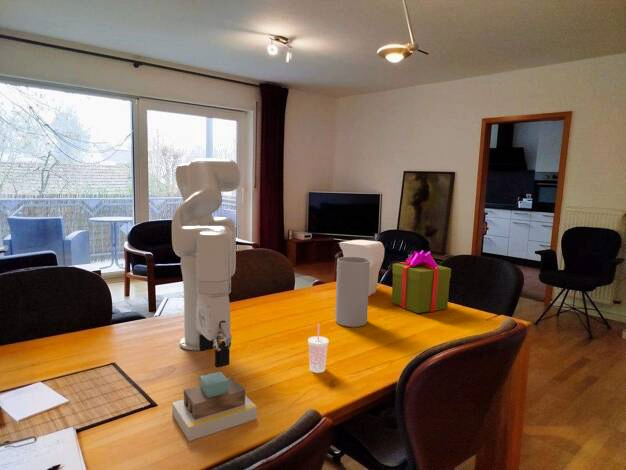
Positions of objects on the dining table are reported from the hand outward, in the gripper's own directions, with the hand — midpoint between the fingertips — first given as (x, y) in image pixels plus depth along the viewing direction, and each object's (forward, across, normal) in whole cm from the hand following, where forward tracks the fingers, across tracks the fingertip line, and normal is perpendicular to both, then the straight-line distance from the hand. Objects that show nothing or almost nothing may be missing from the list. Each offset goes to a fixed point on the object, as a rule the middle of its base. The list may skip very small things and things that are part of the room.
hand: (213, 357), depth 98 cm
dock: (+14, +1, 0) cm, 14 cm away
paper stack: (+16, -64, +103) cm, 122 cm away
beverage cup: (+15, -7, +35) cm, 39 cm away
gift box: (+16, -35, +110) cm, 116 cm away
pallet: (+11, +1, 0) cm, 11 cm away
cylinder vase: (+16, -34, +70) cm, 79 cm away
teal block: (+8, +1, 0) cm, 8 cm away
